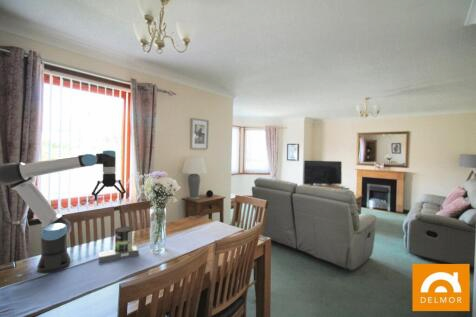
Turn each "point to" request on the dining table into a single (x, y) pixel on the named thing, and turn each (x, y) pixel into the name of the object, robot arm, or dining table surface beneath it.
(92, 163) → the robot arm
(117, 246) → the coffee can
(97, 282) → the dining table surface
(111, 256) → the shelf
